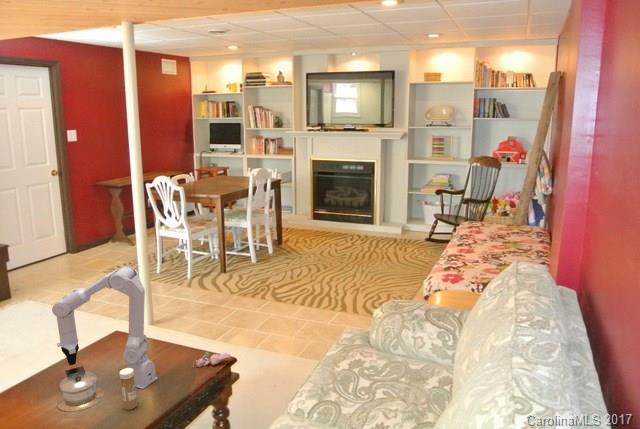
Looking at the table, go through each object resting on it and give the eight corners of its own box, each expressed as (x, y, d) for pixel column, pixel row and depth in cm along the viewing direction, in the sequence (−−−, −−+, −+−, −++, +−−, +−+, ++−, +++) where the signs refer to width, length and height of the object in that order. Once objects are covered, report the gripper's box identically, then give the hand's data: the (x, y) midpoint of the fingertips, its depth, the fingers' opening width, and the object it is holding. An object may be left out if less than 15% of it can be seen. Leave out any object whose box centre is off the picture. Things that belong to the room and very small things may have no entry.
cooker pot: (107, 401, 176) (105, 387, 175) (60, 417, 168) (57, 402, 167) (99, 383, 188) (97, 369, 187) (54, 396, 180) (52, 382, 179)
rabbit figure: (193, 373, 196) (231, 363, 198) (190, 359, 195) (228, 350, 197) (195, 365, 202) (231, 356, 204) (191, 352, 201) (228, 343, 203)
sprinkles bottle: (136, 409, 171) (132, 373, 168) (122, 411, 170) (118, 375, 167) (138, 401, 176) (134, 366, 173) (124, 403, 175) (120, 368, 172)
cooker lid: (99, 386, 175) (98, 380, 175) (62, 397, 169) (61, 390, 169) (91, 368, 188) (90, 362, 187) (57, 378, 181) (56, 372, 181)
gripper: (53, 326, 189) (57, 359, 192) (57, 340, 177) (63, 375, 180) (73, 321, 193) (78, 354, 196) (79, 335, 181) (84, 369, 184)
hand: (72, 364), depth 188 cm, fingers closed
